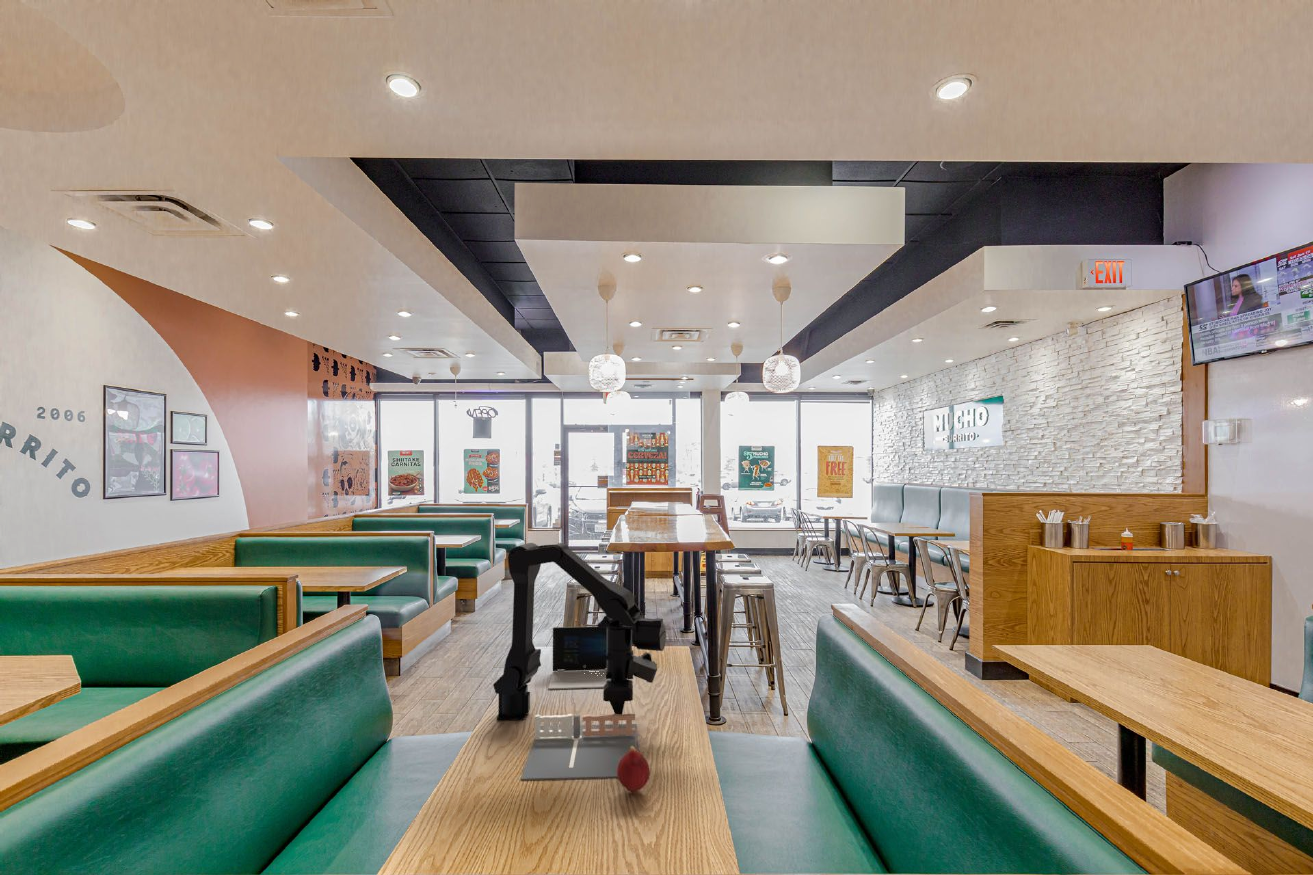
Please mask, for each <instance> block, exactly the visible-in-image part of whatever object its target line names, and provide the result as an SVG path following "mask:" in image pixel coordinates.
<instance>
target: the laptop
mask: <svg viewBox="0 0 1313 875" xmlns="http://www.w3.org/2000/svg"><path fill="white" fill-rule="evenodd" d="M606 652H607V628H604V627H598V626H597V625H596V626H592V625H591V626H556V627H555V626H554V627H553V628H552V672H551V673H552V674H551V677H550V680H549V684H548V688H547V689H548V690H579V689H583V688H586V689H604V685H605V684H606V681H608V680H610V679H606V671H607V660H606ZM589 671H595V672H589ZM596 671H599V672H596ZM584 673H585V674H584ZM591 673H592V674H591ZM595 673H597V674H595ZM599 673H600V674H599ZM603 673H604V674H603ZM597 675H598V676H597ZM601 675H602V676H601Z"/></svg>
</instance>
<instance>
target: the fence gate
mask: <svg viewBox="0 0 1313 875" xmlns="http://www.w3.org/2000/svg"><path fill="white" fill-rule="evenodd" d="M635 720H636V713H626V714H625V713H622V714H615V713H613V714H604V713H603V714H583V715H582V722H585V725H586V729H583V736H584V735H586V736H591V735H599V736H605V735H613V736H618V735H632V734H635V728H632V724H633V721H635ZM606 721H608V722H610V721H612V724H613V729H605V724H606ZM619 721H625V724H626V728H621V729H618V724H619ZM592 722H598V725H599V729H591V725H592ZM572 725H573V737H574V738H579V737H580V725H581V715H580V714H578V713H575V714H574V715H573V723H572Z"/></svg>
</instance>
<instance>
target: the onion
mask: <svg viewBox="0 0 1313 875" xmlns="http://www.w3.org/2000/svg"><path fill="white" fill-rule="evenodd" d="M617 775H618V778H617V779H618V780H619V783H620V784H621V786H622V787H623V788H625V789H626V791H628V792H629V793H631V794H634V793H637V792H638V791H640V790H641V789H643V788H644V787H645V786H646V784H647V783H648V781H649V779H650V775H651V772H650V765H649V762H648V760H647V759H646V757H645V756H644V755H643V754H642V752H639V750H638V751H637V750H636V749H635V748H634V747H633V746H631V747H630V752H628V753H627V754H625V755H624V756H623V758H622V759H621V760H620V762H619V765H618V770H617Z"/></svg>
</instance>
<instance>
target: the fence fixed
mask: <svg viewBox="0 0 1313 875" xmlns="http://www.w3.org/2000/svg"><path fill="white" fill-rule="evenodd" d="M541 723H543V726H544V730H540V726H541ZM551 723H552V726H553V730H550V726H551ZM559 723H560V724H559ZM559 725H561V730H559ZM572 725H573V713H567V714H562V715H559V714H558V715H557V714H556V715H555V714H554V715H541V714H535V716H534V738H535V740H538V739H540V736H544V737H549V736H553V737H558V736H561V737H567V739H572Z"/></svg>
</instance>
